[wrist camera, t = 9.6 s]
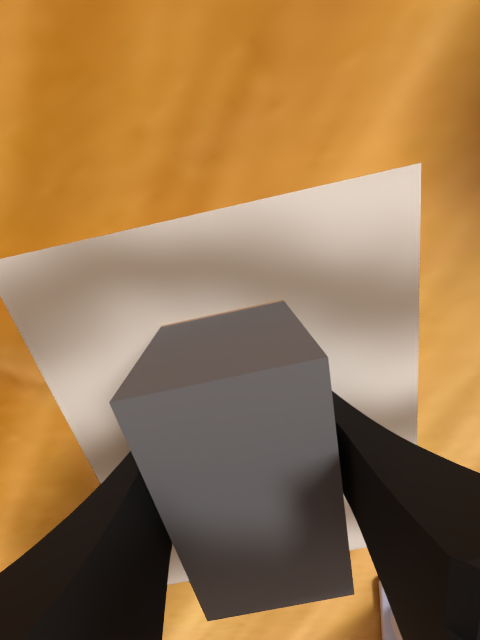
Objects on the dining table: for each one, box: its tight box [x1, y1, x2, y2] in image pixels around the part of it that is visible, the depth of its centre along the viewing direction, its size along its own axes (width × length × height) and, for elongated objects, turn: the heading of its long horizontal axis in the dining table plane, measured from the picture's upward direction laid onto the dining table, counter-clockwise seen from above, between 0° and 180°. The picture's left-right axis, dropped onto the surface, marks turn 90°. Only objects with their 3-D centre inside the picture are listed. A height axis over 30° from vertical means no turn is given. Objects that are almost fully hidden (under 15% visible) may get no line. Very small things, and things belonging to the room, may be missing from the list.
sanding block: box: [109, 300, 354, 621], centre depth 10 cm, size 9×5×5 cm, turn 12°
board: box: [0, 163, 421, 585], centre depth 13 cm, size 20×16×1 cm
